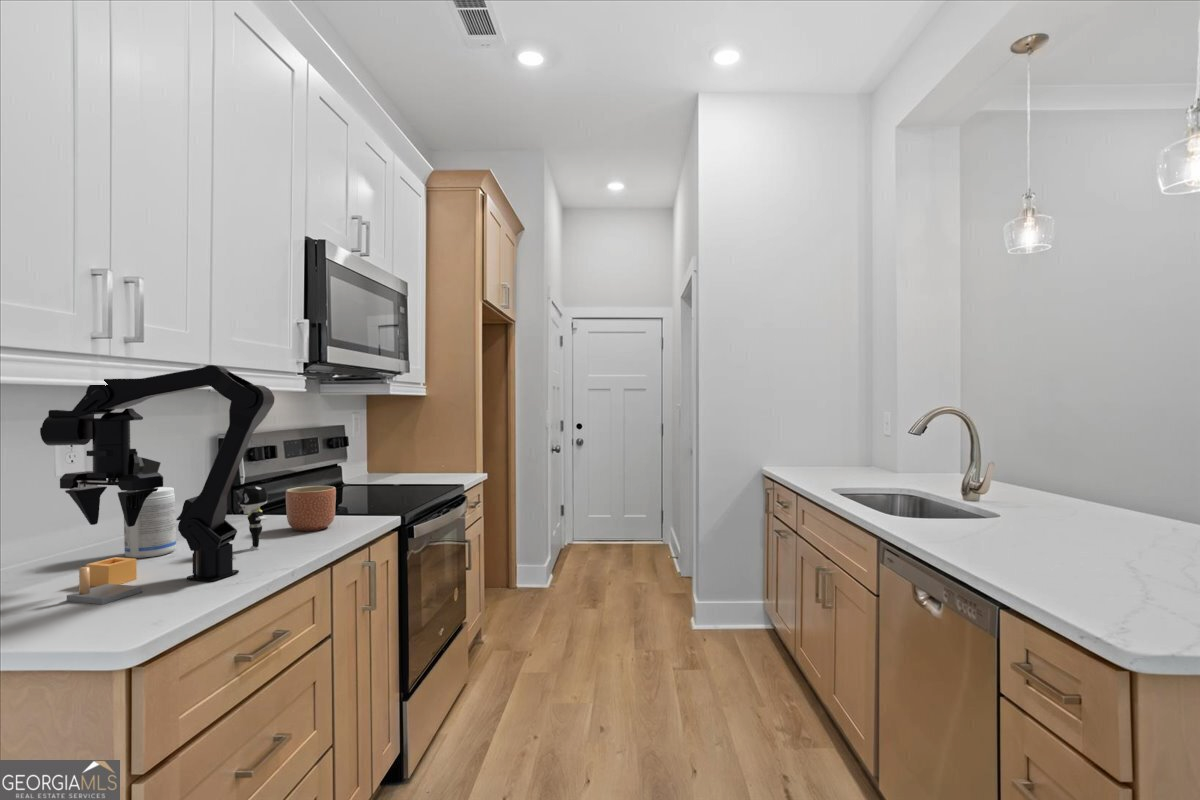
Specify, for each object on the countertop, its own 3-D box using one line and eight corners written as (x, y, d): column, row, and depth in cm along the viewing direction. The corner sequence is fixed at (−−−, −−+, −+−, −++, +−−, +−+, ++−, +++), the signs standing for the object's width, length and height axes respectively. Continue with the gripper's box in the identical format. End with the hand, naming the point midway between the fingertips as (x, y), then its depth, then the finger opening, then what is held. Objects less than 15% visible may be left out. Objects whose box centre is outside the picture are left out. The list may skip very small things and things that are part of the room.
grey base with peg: (141, 591, 112) (141, 561, 112) (102, 604, 105) (102, 572, 105) (107, 588, 114) (107, 559, 114) (66, 600, 107) (66, 569, 107)
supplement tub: (185, 548, 145) (184, 486, 145) (158, 558, 136) (158, 492, 136) (142, 549, 144) (142, 487, 145) (112, 559, 135) (112, 492, 135)
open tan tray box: (136, 579, 120) (136, 558, 120) (108, 587, 114) (108, 566, 114) (115, 577, 121) (115, 557, 121) (86, 585, 116) (86, 564, 116)
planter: (332, 522, 176) (332, 484, 176) (339, 530, 165) (339, 489, 165) (283, 527, 169) (283, 487, 169) (288, 535, 159) (287, 493, 159)
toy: (233, 546, 147) (232, 483, 147) (261, 542, 151) (261, 481, 151) (246, 556, 137) (246, 489, 137) (276, 552, 141) (276, 486, 141)
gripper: (188, 442, 123) (188, 519, 123) (115, 441, 128) (116, 516, 128) (134, 446, 113) (134, 530, 113) (57, 445, 117) (58, 526, 117)
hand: (112, 525), depth 118 cm, fingers open, 9 cm apart
